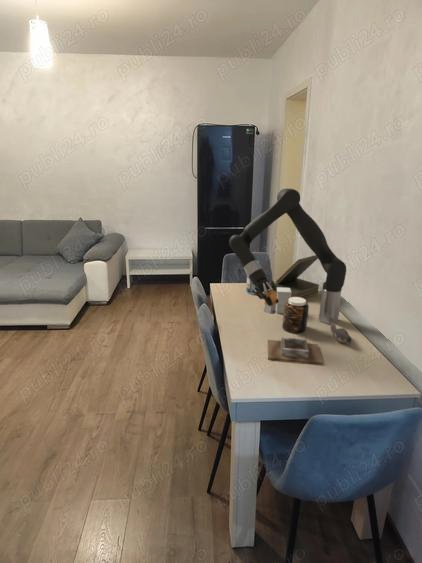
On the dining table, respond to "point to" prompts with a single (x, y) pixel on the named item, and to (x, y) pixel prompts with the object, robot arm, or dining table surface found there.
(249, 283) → the beverage bottle
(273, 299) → the orange rectangular block
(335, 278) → the robot arm
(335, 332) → the decorative bird
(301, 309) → the jar
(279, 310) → the supplement box
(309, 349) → the socket board
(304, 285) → the open hinged box
